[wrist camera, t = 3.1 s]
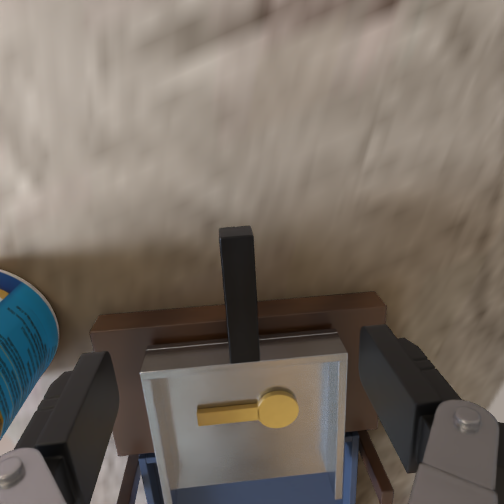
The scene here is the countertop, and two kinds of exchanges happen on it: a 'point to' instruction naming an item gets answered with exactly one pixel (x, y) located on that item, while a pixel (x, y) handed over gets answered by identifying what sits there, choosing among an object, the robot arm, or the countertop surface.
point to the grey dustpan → (245, 393)
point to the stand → (215, 327)
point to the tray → (262, 485)
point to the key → (255, 411)
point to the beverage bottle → (23, 343)
